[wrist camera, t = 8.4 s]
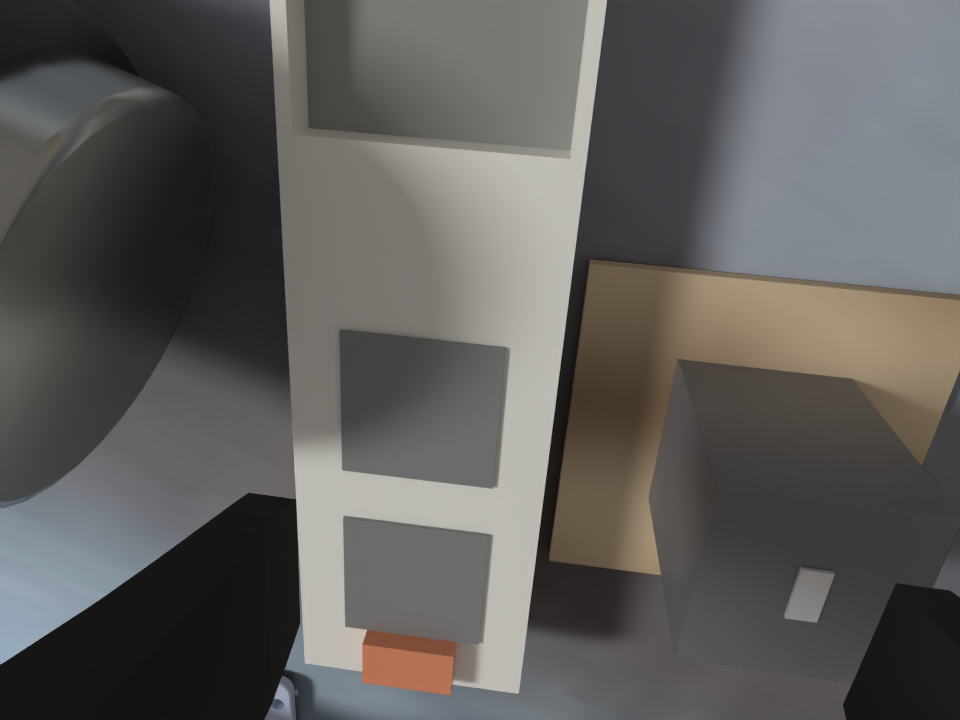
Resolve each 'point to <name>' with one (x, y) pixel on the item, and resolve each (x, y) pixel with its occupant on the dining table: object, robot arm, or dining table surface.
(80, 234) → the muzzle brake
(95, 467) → the dining table surface
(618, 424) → the coaster
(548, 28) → the socket strip
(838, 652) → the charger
